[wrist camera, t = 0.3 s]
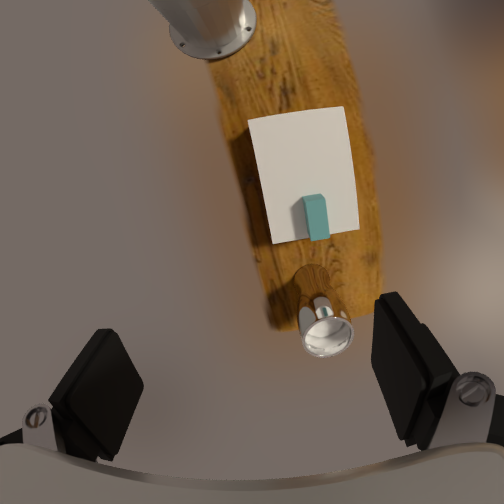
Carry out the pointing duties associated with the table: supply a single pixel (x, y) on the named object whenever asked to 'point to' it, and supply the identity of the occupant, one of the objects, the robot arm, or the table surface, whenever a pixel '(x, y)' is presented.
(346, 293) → the table surface
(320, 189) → the box lid
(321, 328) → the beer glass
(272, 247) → the table surface
